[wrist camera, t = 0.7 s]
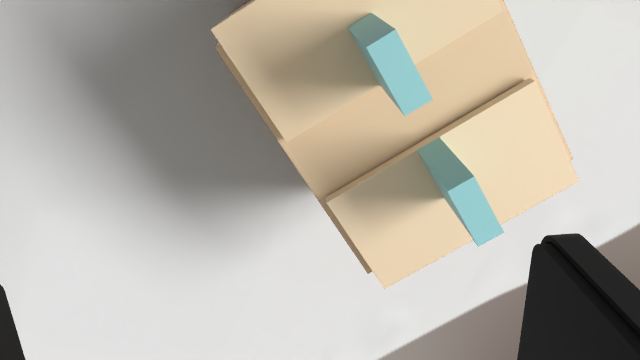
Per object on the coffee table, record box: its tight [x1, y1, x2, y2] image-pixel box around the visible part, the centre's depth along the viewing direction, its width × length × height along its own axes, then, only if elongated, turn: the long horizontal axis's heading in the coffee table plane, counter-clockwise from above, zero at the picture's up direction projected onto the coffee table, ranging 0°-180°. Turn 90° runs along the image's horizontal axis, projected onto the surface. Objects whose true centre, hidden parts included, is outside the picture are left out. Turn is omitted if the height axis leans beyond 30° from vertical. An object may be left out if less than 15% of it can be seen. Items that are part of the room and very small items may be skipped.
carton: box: [211, 0, 573, 273], centre depth 30 cm, size 12×15×17 cm
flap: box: [325, 78, 579, 289], centre depth 26 cm, size 11×6×5 cm, turn 121°
